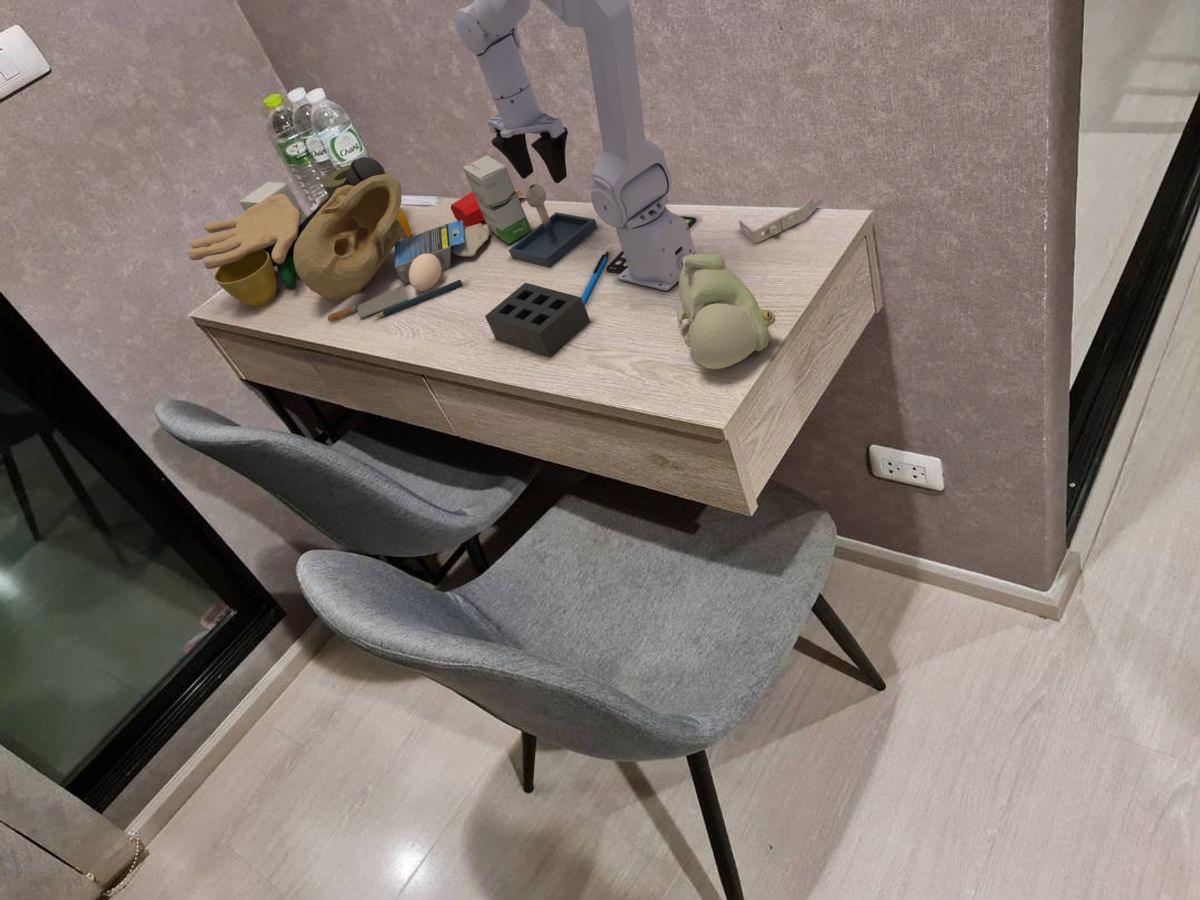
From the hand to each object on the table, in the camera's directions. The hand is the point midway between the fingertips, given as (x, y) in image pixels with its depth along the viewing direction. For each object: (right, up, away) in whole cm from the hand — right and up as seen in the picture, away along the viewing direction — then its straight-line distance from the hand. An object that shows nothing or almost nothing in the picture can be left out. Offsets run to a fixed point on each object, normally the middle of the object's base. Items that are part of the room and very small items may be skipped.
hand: (544, 177), depth 129 cm
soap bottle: (-43, +5, +38) cm, 58 cm away
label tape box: (-26, -10, +14) cm, 31 cm away
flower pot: (-53, -14, +25) cm, 60 cm away
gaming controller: (-44, -10, +26) cm, 52 cm away
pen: (+7, -19, -7) cm, 21 cm away
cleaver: (-28, -20, +7) cm, 35 cm away
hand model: (-46, +2, +22) cm, 51 cm away
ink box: (-6, -5, +14) cm, 16 cm away
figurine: (+18, -25, -28) cm, 42 cm away
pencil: (-13, -15, +6) cm, 21 cm away
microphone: (-45, -3, +25) cm, 52 cm away
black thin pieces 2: (-59, -8, +25) cm, 65 cm away
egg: (-19, -10, +9) cm, 23 cm away
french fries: (-16, 0, +20) cm, 26 cm away
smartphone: (+16, -11, -3) cm, 20 cm away
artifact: (-14, -3, +17) cm, 22 cm away
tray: (+1, -8, +6) cm, 11 cm away
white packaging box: (-50, -2, +37) cm, 62 cm away
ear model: (-27, -3, +4) cm, 27 cm away
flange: (-32, +4, +21) cm, 39 cm away
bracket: (+43, -5, -11) cm, 44 cm away
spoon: (+1, -8, +6) cm, 10 cm away
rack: (0, -25, -11) cm, 27 cm away
